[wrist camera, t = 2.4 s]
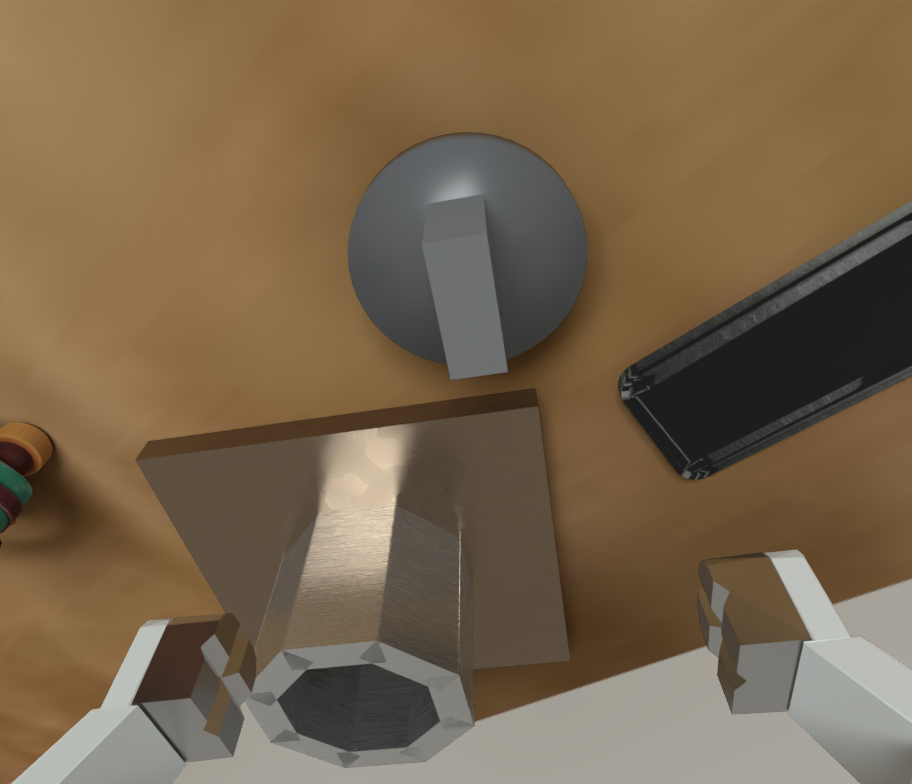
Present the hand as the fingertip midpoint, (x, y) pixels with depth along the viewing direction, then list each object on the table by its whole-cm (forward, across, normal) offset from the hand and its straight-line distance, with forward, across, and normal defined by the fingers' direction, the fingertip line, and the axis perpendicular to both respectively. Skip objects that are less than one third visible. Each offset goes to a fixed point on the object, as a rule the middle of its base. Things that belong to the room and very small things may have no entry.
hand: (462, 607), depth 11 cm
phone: (+19, +14, -8) cm, 25 cm away
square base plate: (+18, -8, -18) cm, 27 cm away
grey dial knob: (+18, 0, 0) cm, 19 cm away
